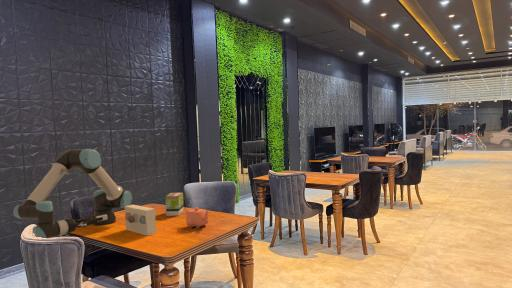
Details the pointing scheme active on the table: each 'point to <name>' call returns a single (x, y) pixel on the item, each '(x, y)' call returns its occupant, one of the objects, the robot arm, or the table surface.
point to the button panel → (136, 226)
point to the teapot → (196, 217)
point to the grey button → (131, 219)
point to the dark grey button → (142, 219)
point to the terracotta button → (127, 215)
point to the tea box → (174, 204)
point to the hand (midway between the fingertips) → (106, 216)
